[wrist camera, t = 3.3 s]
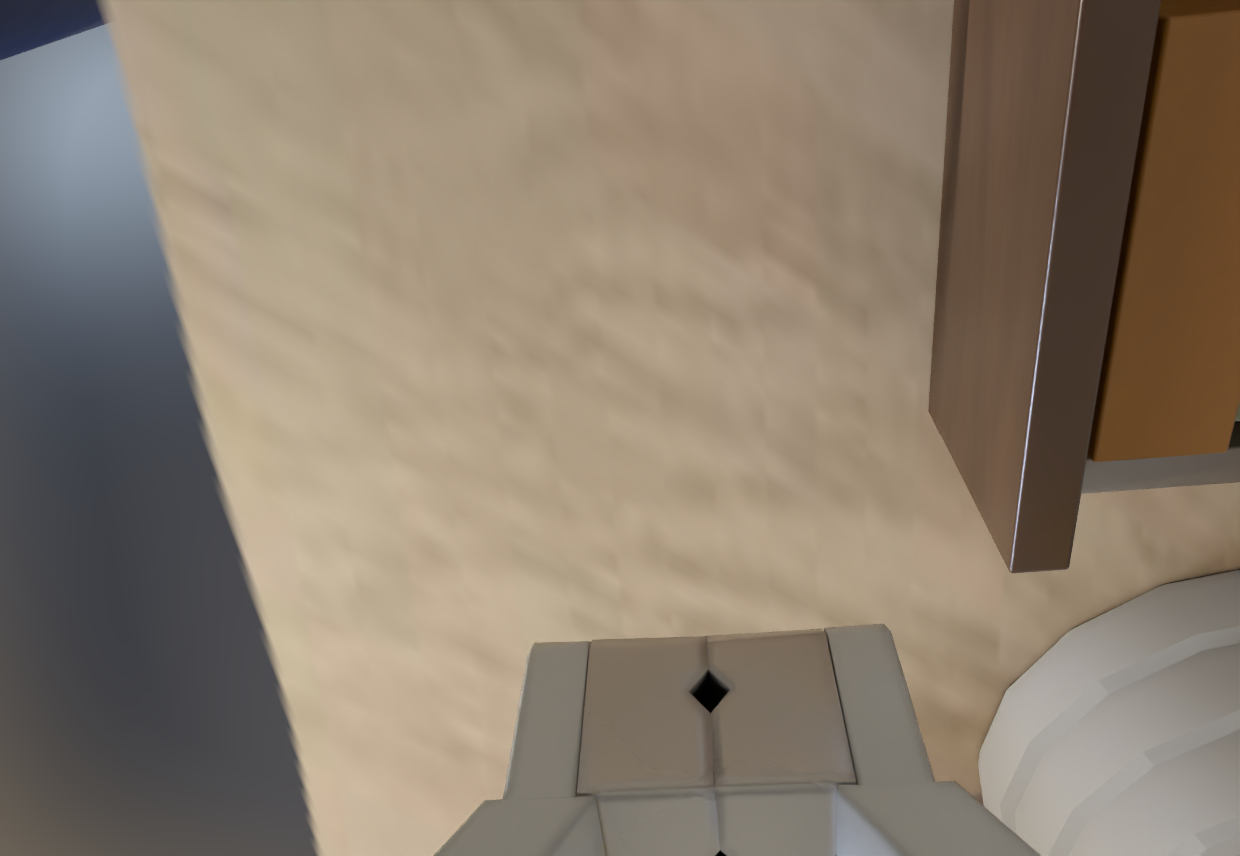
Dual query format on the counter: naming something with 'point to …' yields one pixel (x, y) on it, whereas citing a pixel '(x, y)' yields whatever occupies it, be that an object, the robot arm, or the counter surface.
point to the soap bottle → (1127, 731)
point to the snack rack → (1088, 258)
